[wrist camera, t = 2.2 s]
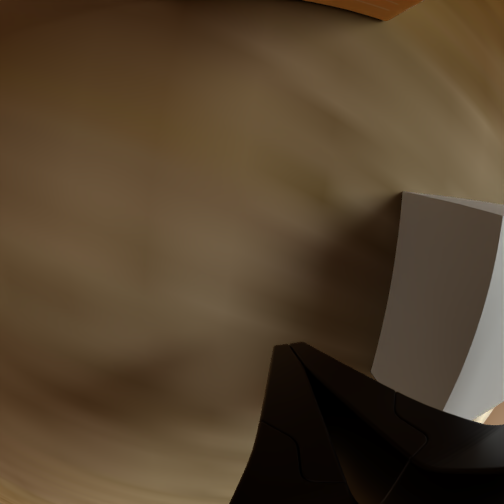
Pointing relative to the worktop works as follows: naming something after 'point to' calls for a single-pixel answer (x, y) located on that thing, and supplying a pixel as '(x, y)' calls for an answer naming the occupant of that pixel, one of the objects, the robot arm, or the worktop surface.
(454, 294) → the block
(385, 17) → the small box
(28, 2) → the worktop surface
